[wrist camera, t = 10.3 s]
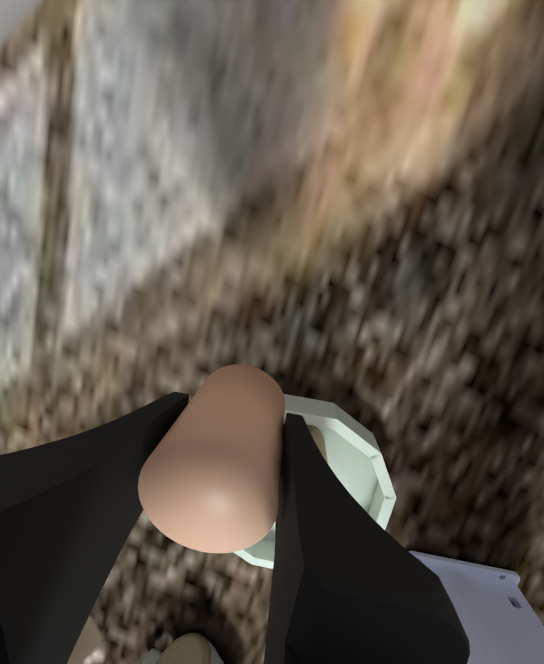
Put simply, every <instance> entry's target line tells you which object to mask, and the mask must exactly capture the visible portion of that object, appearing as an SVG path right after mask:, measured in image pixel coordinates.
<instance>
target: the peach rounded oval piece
mask: <svg viewBox="0 0 544 664" xmlns="http://www.w3.org/2000/svg"><path fill="white" fill-rule="evenodd" d="M285 410H286V404H285V398H284V395H283V392H282V390H281V388H280V387H279V385H278V384H277V382H276V381H275V380H274V379H273V378H272V377H271V376H270V375H268V374H267V373H265V372H264V371H262V370H260V369H258V368H255V367H253V366H248V365H229V366H225V367H222V368H220V369H218V370H216V371H215V372H213V373H212V374H211V375H210V376H209V377H208V378H207V379H206V380H205V381H204V383H203V384H202V386H201V387H200V388H199V390H198V391H197V392H196V394H195V395H194V396H193V398H192V399H191V401H190V402H189V403H188V405H187V406H186V407H185V409H184V410H183V411H182V413H181V414H180V416H179V417H178V418H177V420H176V421H175V422H174V424H173V425H172V426H171V428H170V429H169V431H168V432H167V433H166V435H165V436H164V437H163V439H162V440H161V441H160V443H159V444H158V446H157V447H156V448H155V450H154V451H153V452H152V454H151V455H150V456H149V458H148V459H147V461H146V462H145V464H144V465H143V467H142V469H141V472H140V475H139V480H138V494H139V498H140V502H141V505H142V507H143V509H144V511H145V513H146V515H147V516H148V518H149V519H150V521H151V522H152V523H153V524H154V525H155V526H156V528H158V529H159V530H160V531H161V532H162V533H163V534H165V535H166V536H167V537H169V538H170V539H172V540H173V541H175V542H177V543H179V544H181V545H183V546H185V547H188V548H191V549H194V550H198V551H202V552H208V553H230V552H236V551H240V550H243V549H246V548H248V547H251V546H252V545H254V544H256V543H257V542H259V541H260V540H261V539H263V538H264V537H265V536H266V535H267V534H268V533H269V531H270V530H271V528H272V527H273V525H274V523H275V521H276V517H277V514H278V505H279V491H280V478H281V464H282V451H283V434H284V424H285Z"/></svg>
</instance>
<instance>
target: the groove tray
mask: <svg viewBox="0 0 544 664" xmlns="http://www.w3.org/2000/svg"><path fill="white" fill-rule="evenodd" d="M283 395H284V398H285V404H286V410H285V419H286V414H287V413H293V414H298V415H302V416H303V418H304V420H305V422H306V424H308V425H313V426H316V427H317V428H318V429H319V430H320V431H321V432H322V434H323V436H324V440H325V447H326V454H327V461H328V465H329V466H330V468H331V469H332V471H333V472H334V474H335V475H336V476H337V478H338V479H339V480H340V482H341V483H342V484H343V486H344V487H345V488H346V489H347V491H348V492H349V493H350V494H351V495H352V497H353V498H354V499H355V500H356V501H357V502H358V503H359V504H360V505H361V506H362V508H363V509H364V510H365V511H366V512H367V513H368V514H369V515H370V516H371V517H372V518H373V519H374V520H375V521H376V522H377V523H378V524H379V525H380V526H381V527H382V528H383V529H384V530H385V529H386V526H387V523H388V520H389V517H390V515H391V512H392V509H393V506H394V503H395V501H396V495H395V492H394V489H393V486H392V483H391V481H390V478H389V475H388V472H387V469H386V466H385V463H384V460H383V457H382V454H381V452H380V449H379V447H378V445H377V442H376V440H375V437H374V435H373V433H371V432H370V431H369V430H368V429H366V428H365V427H364V426H362V425H361V424H360V423H359V422H357V421H356V420H355V419H354V418H352V417H351V416H350V415H348V414H347V413H346V412H345V411H343V410H342V409H341V408H340V407H338V406H337V405H336V404H335V403H332V402H326V401H321V400H315V399H310V398H304V397H299V396H293V395H288V394H283ZM234 553H235V554H237V555H238V556H240V557H241V558H243V559H244V560H246V561H247V562H249V563H250V564H253V565H257V566H262V567H267V568H272V569H273V565H274V553H275V523H274V525H273V527H272V528H271V530H270V531H269V533H268V534H267V535H266V536H265V537H264V538H263V539H261V540H260V541H259V542H257V543H256V544H254V545H252V546H251V547H248V548H246V549H243V550H240V551H236V552H234Z"/></svg>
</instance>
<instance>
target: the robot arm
mask: <svg viewBox="0 0 544 664" xmlns="http://www.w3.org/2000/svg"><path fill="white" fill-rule="evenodd" d="M188 400H189V394H184V393H179V392H173V393H170V394H168V395H166V396H164V397H162V398H160V399H158V400H156V401H154V402H152V403H150V404H148V405H146V406H144V407H142V408H140V409H138V410H136V411H134V412H131V413H129V414H127V415H125V416H122V417H120V418H118V419H116V420H113V421H111V422H109V423H106V424H104V425H101V426H99V427H96V428H94V429H91V430H88V431H85V432H83V433H80V434H77V435H74V436H71V437H68V438H64V439H61V440H57V441H54V442H51V443H47V444H44V445H40V446H37V447H33V448H29V449H25V450H21V451H17V452H13V453H8V454H4V455H0V664H67V662H68V659H69V657H70V655H71V653H72V651H73V648H74V646H75V644H76V642H77V639H78V638H79V636H80V633H81V631H82V629H83V627H84V625H85V623H86V621H87V619H88V617H89V615H90V612H91V610H92V608H93V606H94V604H95V602H96V600H97V598H98V596H99V593H100V591H101V589H102V587H103V585H104V583H105V581H106V579H107V577H108V575H109V573H110V571H111V569H112V567H113V565H114V563H115V561H116V559H117V557H118V555H119V553H120V551H121V549H122V548H123V546H124V544H125V542H126V540H127V538H128V536H129V534H130V532H131V530H132V528H133V526H134V525H135V523H136V521H137V519H138V518H139V516H140V514H141V513H142V511H143V507H142V505H141V502H140V498H139V494H138V480H139V475H140V472H141V469H142V467H143V465H144V464H145V462H146V461H147V459H148V458H149V456H150V455H151V454H152V452H153V451H154V450H155V448H156V447H157V446H158V444H159V443H160V441H161V440H162V439H163V437H164V436H165V435H166V433H167V432H168V431H169V429H170V428H171V426H172V425H173V424H174V422H175V421H176V420H177V418H178V417H179V416H180V414H181V413H182V411H183V410H184V409H185V407H186V406H187V405H188ZM519 581H520V577H519V576H518V574H517V573H516V572H514V571H510V570H505V569H500V568H495V567H490V566H485V565H480V564H475V563H470V562H465V561H460V560H455V559H450V558H445V557H440V556H435V555H430V554H425V553H420V552H415V551H407V550H406V549H405V548H404V547H403V546H401V545H400V544H399V543H398V542H397V541H396V540H395V539H394V538H393V537H392V536H391V535H389V534H388V533H387V532H386V531H385V530H384V529H383V528H382V527H381V526H380V525H379V524H378V523H377V522H376V521H375V520H374V519H373V518H372V517H371V516H370V515H369V514H368V513H367V512H366V511H365V510H364V509H363V508H362V506H361V505H360V504H359V503H358V502H357V501H356V500H355V499H354V498H353V497H352V495H351V494H350V493H349V492H348V491H347V489H346V488H345V487H344V486H343V484H342V483H341V482H340V480H339V479H338V478H337V476H336V475H335V474H334V472H333V471H332V469H331V468H330V466H329V465H328V463H327V461H326V460H325V458H324V457H323V455H322V453H321V452H320V450H319V448H318V446H317V444H316V443H315V441H314V439H313V437H312V435H311V433H310V431H309V429H308V427H307V424H306V422H305V420H304V418H303V416H302V415H298V414H293V413H287V414H286V419H285V424H284V434H283V451H282V464H281V478H280V491H279V505H278V514H277V517H276V521H275V553H274V565H273V576H272V586H271V597H270V607H269V617H268V628H267V637H266V647H265V657H264V664H544V626H543V624H542V623H541V621H540V620H539V618H538V617H537V615H536V614H535V612H534V611H533V609H532V608H531V606H530V605H529V603H528V602H527V600H526V599H525V597H524V596H523V594H522V593H521V591H520V590H519V588H518V587H517V585H518V583H519Z"/></svg>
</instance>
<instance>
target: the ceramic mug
mask: <svg viewBox="0 0 544 664" xmlns="http://www.w3.org/2000/svg"><path fill="white" fill-rule="evenodd" d="M142 664H224V663H223V661H222V660H221V658H220V656H219V655H218V653H217V652H216V650H215V648H214V647H213V645H212V644H211V643H210V641H208V640H207V639H206V638H205V637H204V636H203V635H201V634H198V633H188V634H185V635H183V636H181V637H179V638H177V639H176V640H174V641H173V642H172V643H171V644H170V645H169V646H168V647H167V648H166V649H165V650H164V652H163V653H161V652H160V651H158V650H157V649H155V648H153V649H151V650H150V652H149V653H148V655H147V656H146V658H145V659H144V661H143V663H142Z"/></svg>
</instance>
